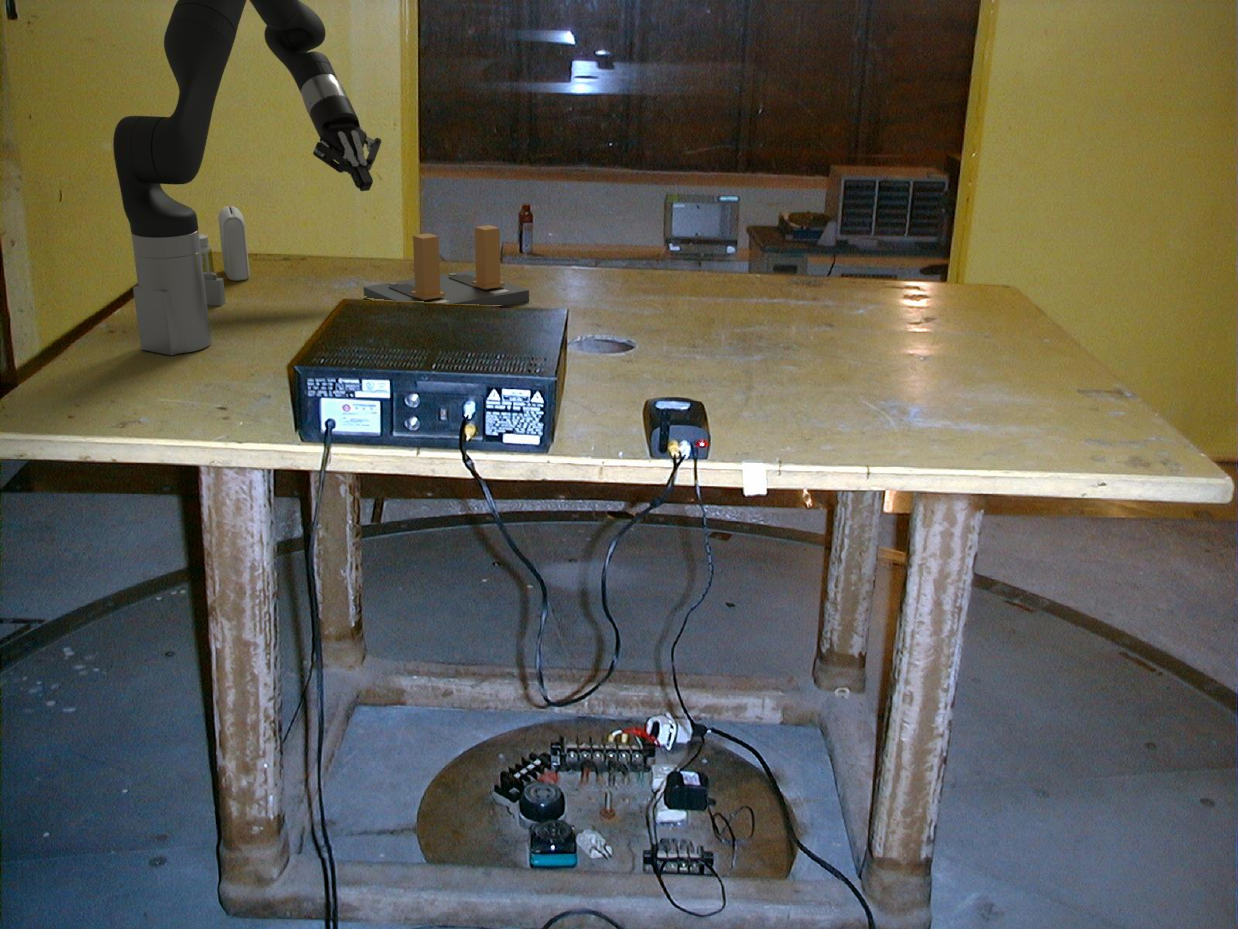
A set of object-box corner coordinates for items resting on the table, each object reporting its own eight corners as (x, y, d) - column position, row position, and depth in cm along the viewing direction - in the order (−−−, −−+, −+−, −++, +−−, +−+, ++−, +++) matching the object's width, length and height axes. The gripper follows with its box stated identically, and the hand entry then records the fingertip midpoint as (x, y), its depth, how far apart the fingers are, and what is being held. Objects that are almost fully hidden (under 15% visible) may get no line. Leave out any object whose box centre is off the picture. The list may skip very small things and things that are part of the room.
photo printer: (222, 269, 227) (215, 202, 223) (246, 267, 229) (239, 201, 224) (226, 282, 218) (219, 213, 214) (251, 280, 220) (244, 211, 215)
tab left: (423, 300, 200) (421, 239, 196) (411, 294, 203) (408, 235, 199) (444, 296, 202) (442, 236, 198) (432, 291, 205) (429, 232, 201)
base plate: (417, 321, 197) (417, 308, 196) (364, 298, 210) (363, 285, 209) (529, 301, 210) (529, 288, 209) (472, 280, 223) (471, 268, 222)
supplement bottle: (204, 278, 220) (199, 232, 217) (220, 282, 218) (215, 236, 215) (181, 283, 217) (176, 236, 213) (198, 288, 214) (192, 240, 211)
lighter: (226, 303, 205) (221, 256, 202) (221, 305, 204) (216, 258, 201) (186, 301, 206) (180, 254, 203) (181, 303, 205) (175, 256, 202)
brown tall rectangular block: (485, 289, 207) (483, 230, 203) (472, 284, 210) (470, 226, 206) (504, 286, 209) (503, 228, 206) (491, 281, 212) (490, 224, 208)
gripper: (299, 95, 208) (338, 178, 204) (369, 91, 216) (407, 171, 212) (288, 123, 214) (325, 204, 210) (357, 119, 222) (393, 197, 217)
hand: (366, 187), depth 211 cm, fingers closed
